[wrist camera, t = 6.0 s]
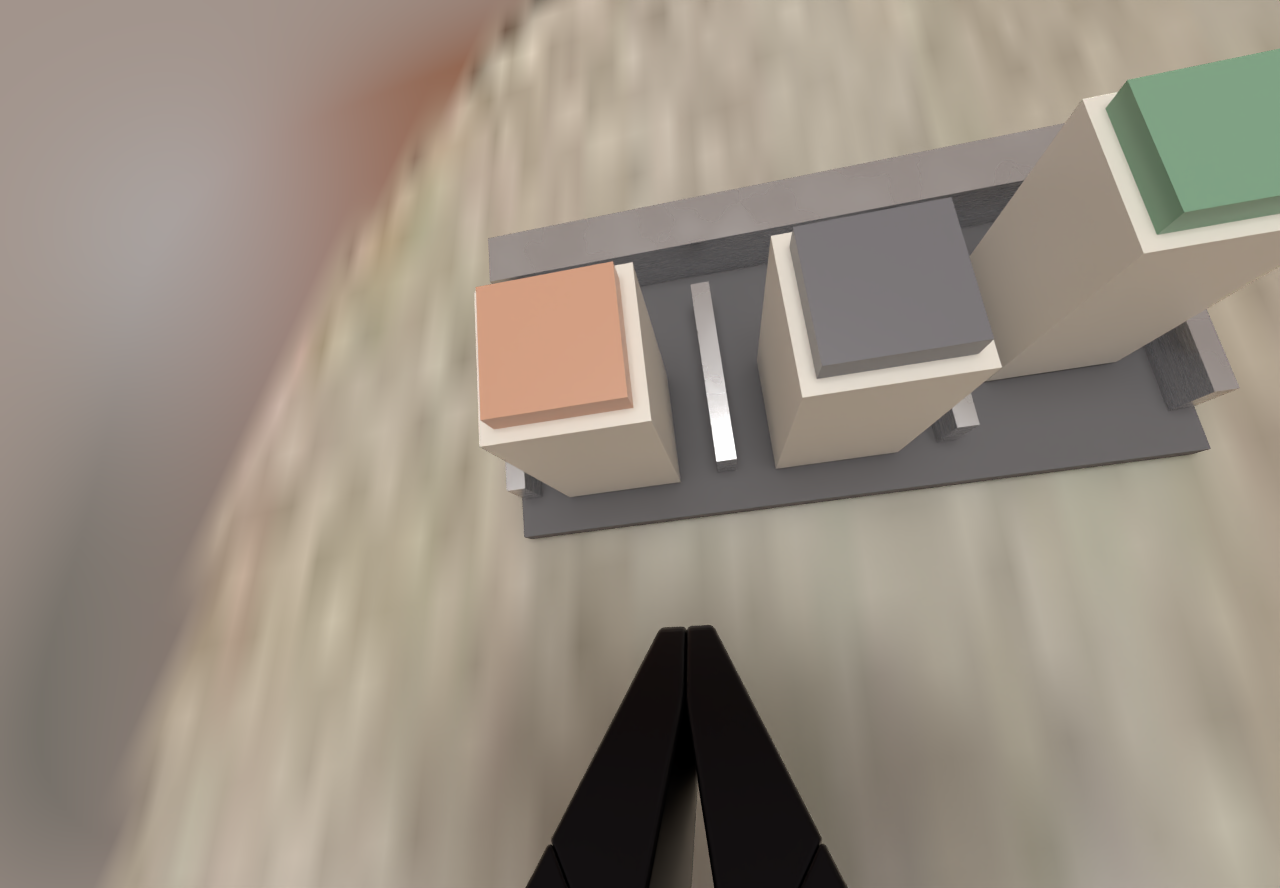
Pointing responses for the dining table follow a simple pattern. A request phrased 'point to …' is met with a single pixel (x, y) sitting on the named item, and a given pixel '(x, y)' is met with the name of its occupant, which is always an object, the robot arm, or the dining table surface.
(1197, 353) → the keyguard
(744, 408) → the key mat
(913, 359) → the key
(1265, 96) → the key
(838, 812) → the dining table surface
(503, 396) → the key
